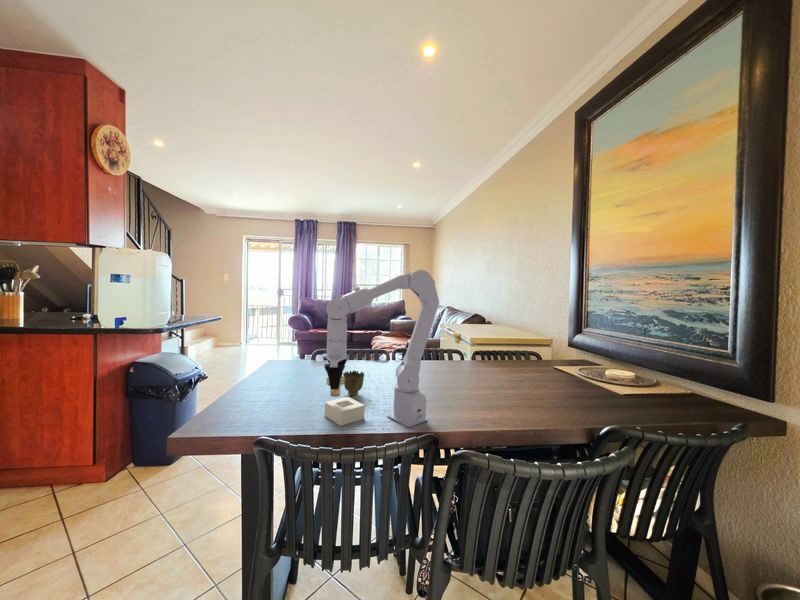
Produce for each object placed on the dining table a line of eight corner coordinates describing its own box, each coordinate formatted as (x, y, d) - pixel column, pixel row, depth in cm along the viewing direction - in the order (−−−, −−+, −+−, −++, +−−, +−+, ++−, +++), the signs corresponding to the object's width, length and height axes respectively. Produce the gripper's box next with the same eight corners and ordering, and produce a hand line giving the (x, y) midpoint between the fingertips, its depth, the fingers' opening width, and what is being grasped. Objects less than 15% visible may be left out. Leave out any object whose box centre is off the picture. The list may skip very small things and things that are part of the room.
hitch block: (364, 418, 92) (364, 405, 92) (340, 425, 86) (341, 411, 86) (347, 409, 98) (347, 396, 98) (324, 415, 93) (324, 402, 93)
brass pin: (347, 395, 92) (348, 378, 91) (332, 399, 88) (332, 381, 88) (338, 391, 95) (338, 374, 95) (322, 394, 92) (323, 377, 92)
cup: (367, 394, 113) (368, 372, 113) (354, 400, 107) (355, 377, 106) (351, 390, 117) (352, 369, 117) (338, 395, 110) (339, 373, 110)
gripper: (326, 336, 98) (325, 378, 98) (319, 343, 84) (317, 394, 84) (349, 336, 99) (347, 378, 99) (345, 344, 84) (344, 394, 85)
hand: (335, 385), depth 92 cm, fingers closed on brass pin, 5 cm apart
